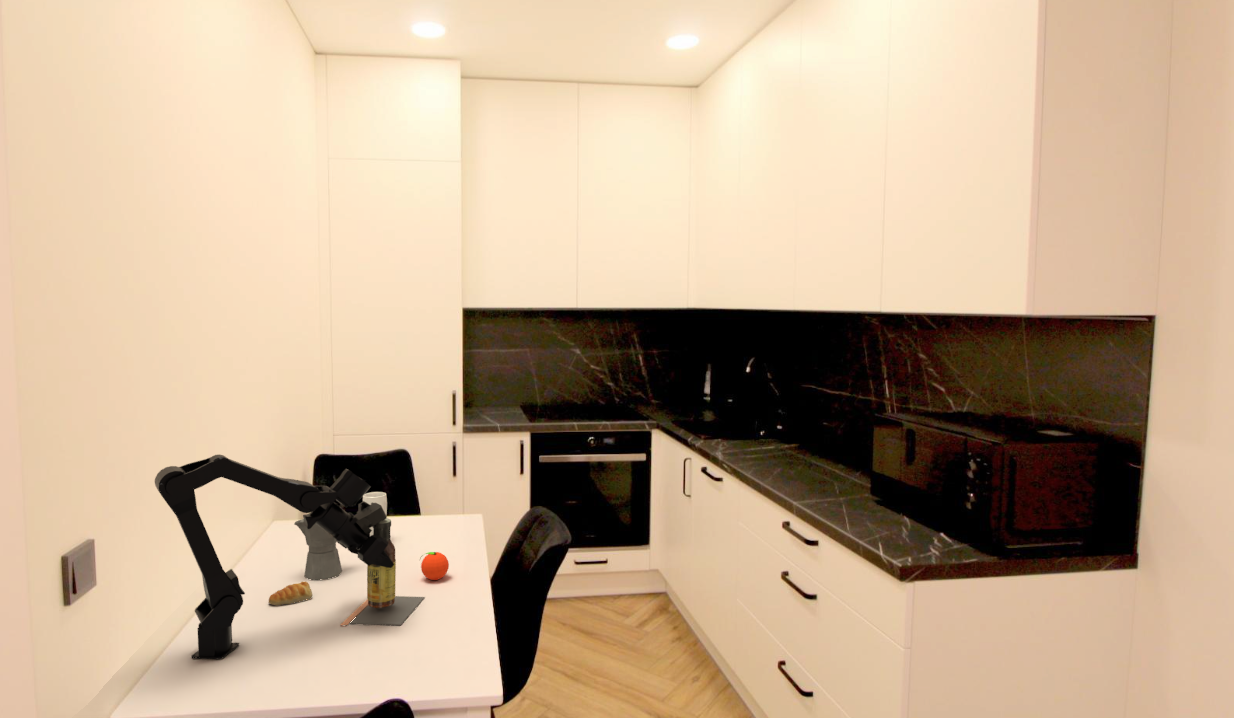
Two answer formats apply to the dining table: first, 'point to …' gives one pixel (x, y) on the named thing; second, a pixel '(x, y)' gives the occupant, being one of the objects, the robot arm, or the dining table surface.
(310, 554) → the coffeepot
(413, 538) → the dining table surface
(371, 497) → the drinking glass
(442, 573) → the clementine
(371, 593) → the sauce bottle
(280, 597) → the pastry
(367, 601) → the terracotta line
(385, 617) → the charcoal mat
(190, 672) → the dining table surface
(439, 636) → the dining table surface
